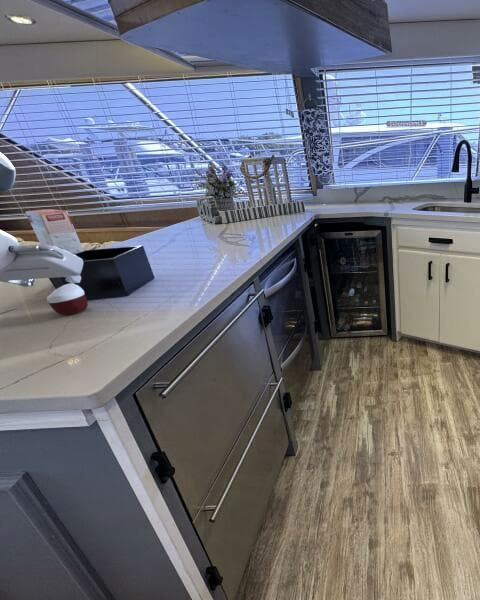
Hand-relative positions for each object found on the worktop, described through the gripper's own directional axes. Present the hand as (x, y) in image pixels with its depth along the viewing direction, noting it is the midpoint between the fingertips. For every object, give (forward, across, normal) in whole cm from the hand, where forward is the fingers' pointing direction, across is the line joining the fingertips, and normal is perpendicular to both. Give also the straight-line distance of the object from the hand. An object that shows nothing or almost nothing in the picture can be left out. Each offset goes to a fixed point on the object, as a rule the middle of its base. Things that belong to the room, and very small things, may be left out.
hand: (54, 281), depth 71 cm
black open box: (+17, +1, -6) cm, 18 cm away
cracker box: (+24, +17, -13) cm, 32 cm away
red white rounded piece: (+7, 0, +5) cm, 8 cm away
